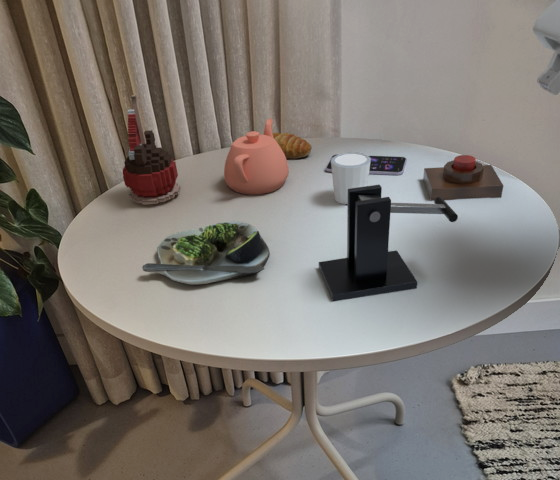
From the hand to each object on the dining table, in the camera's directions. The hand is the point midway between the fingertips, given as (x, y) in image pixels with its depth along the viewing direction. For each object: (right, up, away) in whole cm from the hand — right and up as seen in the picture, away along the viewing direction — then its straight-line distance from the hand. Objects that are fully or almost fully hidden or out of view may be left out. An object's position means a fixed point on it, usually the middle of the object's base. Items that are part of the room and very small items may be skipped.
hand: (545, 88), depth 69 cm
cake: (-56, -1, +40) cm, 69 cm away
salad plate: (-42, -17, +21) cm, 50 cm away
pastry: (-30, +12, +52) cm, 61 cm away
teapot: (-36, +3, +42) cm, 56 cm away
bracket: (-20, -21, +14) cm, 32 cm away
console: (0, -1, +34) cm, 34 cm away
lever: (-15, -13, +8) cm, 22 cm away
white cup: (-19, -3, +34) cm, 39 cm away
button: (0, +1, +31) cm, 31 cm away
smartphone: (-15, +6, +44) cm, 47 cm away
